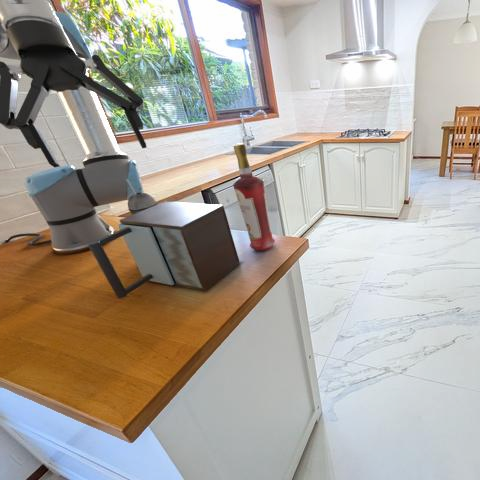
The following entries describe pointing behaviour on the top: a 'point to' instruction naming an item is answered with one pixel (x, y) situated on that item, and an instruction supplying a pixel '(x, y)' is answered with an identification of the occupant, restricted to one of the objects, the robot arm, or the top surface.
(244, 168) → the liquor
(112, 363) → the top surface
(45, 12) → the robot arm
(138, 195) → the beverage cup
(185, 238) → the cabinet
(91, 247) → the glass door
